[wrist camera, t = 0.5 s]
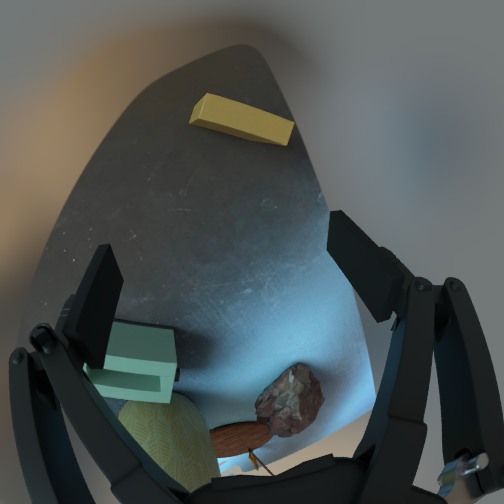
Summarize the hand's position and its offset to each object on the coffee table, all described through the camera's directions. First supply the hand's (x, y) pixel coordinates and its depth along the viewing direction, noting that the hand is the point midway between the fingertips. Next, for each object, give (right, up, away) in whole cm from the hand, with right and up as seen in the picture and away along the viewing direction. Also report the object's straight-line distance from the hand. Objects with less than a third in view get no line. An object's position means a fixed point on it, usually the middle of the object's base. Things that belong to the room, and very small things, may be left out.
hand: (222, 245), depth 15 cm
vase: (-16, -30, +27) cm, 43 cm away
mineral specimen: (+7, -26, +33) cm, 43 cm away
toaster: (-16, -14, +19) cm, 29 cm away
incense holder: (-1, -51, +42) cm, 66 cm away
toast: (-1, +13, +11) cm, 17 cm away
